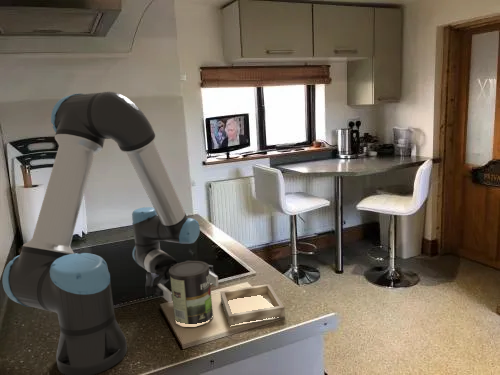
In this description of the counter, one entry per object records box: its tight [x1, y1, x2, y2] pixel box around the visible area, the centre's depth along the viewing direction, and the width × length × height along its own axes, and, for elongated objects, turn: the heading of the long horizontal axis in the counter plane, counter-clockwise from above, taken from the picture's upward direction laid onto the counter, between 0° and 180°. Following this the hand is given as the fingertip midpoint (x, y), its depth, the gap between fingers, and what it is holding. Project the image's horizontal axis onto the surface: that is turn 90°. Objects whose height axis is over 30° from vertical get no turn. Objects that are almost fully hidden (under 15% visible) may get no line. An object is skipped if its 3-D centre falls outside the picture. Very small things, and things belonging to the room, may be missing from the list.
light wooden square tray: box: [219, 283, 286, 327], centre depth 114 cm, size 14×14×3 cm
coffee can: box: [169, 260, 214, 324], centre depth 110 cm, size 10×10×14 cm
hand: (194, 289), depth 109 cm, fingers open, 13 cm apart
